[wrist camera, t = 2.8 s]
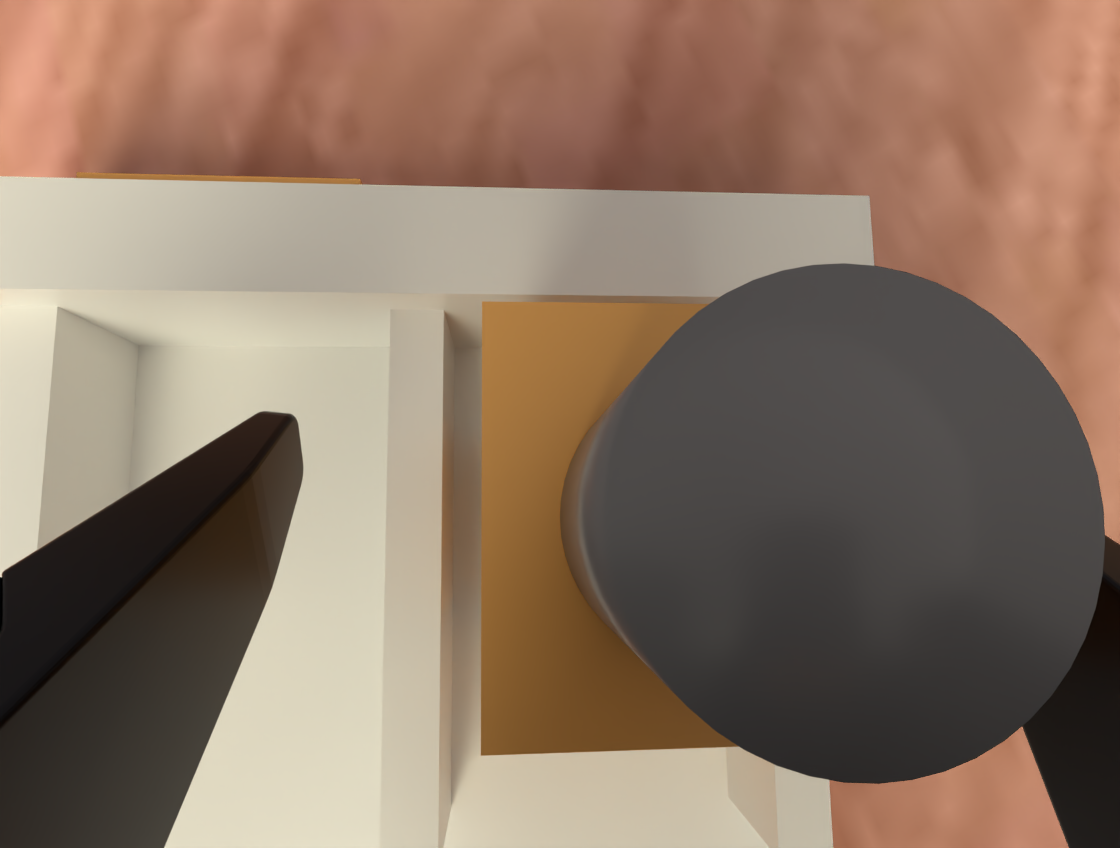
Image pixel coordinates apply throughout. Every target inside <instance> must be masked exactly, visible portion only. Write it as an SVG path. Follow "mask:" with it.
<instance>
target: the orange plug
mask: <svg viewBox="0 0 1120 848" xmlns="http://www.w3.org/2000/svg"><path fill="white" fill-rule="evenodd" d="M1104 548H1105V532H1104V511H1103V504H1102V498H1101V492H1100V486H1099V480H1098V475H1097V472H1096V468H1095V465H1094V462H1093V458H1092V455H1091V452H1090V448H1089V445H1088V442H1087V440H1086V438H1085V435H1084V433H1083V431H1082V428H1081V426H1080V424H1079V421H1078V419H1077V417H1076V414H1075V412H1074V411H1073V409H1072V407H1071V406H1070V404H1069V402H1068V400H1067V399H1066V397H1065V395H1064V393H1063V392H1062V390H1061V388H1060V387H1059V385H1058V383H1057V382H1056V381H1055V379H1054V378H1053V377H1052V375H1051V374H1050V373H1049V371H1048V370H1047V369H1046V367H1045V366H1044V365H1043V363H1042V362H1041V361H1040V359H1039V358H1038V357H1037V356H1036V355H1035V354H1034V353H1033V352H1032V351H1031V350H1030V349H1029V348H1028V347H1027V345H1026V344H1025V343H1024V342H1023V341H1022V340H1021V339H1020V338H1019V337H1018V336H1017V335H1016V334H1015V333H1014V332H1012V331H1011V330H1010V329H1009V328H1008V327H1006V326H1005V325H1004V324H1003V323H1002V322H1000V321H999V320H998V319H997V318H996V317H994V316H993V315H992V314H991V313H989V312H988V311H986V310H984V309H983V308H981V307H980V306H978V305H977V304H975V303H974V302H972V301H971V300H969V299H968V298H966V297H964V296H962V295H960V294H958V293H956V292H954V291H952V290H950V289H948V288H946V287H944V286H942V285H940V284H938V283H936V282H933V281H930V280H927V279H924V278H921V277H918V276H915V275H913V274H910V273H907V272H902V271H898V270H893V269H888V268H883V267H879V266H872V265H859V264H847V263H840V264H820V265H809V266H804V267H798V268H793V269H788V270H782V271H779V272H776V273H773V274H770V275H767V276H764V277H761V278H758V279H755V280H752V281H750V282H748V283H746V284H744V285H742V286H740V287H738V288H736V289H733V290H731V291H729V292H727V293H725V294H724V295H722V296H721V297H719V298H718V299H716V300H715V301H713V302H712V303H710V304H670V303H577V302H484V301H482V506H481V756H487V755H516V754H544V753H573V752H601V751H630V750H659V749H687V748H716V747H740V748H742V749H744V750H745V751H747V752H749V753H751V754H754V755H756V756H758V757H760V758H762V759H764V760H766V761H768V762H770V763H772V764H774V765H776V766H779V767H782V768H785V769H789V770H792V771H795V772H798V773H801V774H804V775H807V776H810V777H816V778H822V779H827V780H833V781H839V782H846V783H877V784H879V783H888V782H897V781H906V780H913V779H917V778H921V777H925V776H929V775H932V774H936V773H940V772H944V771H947V770H949V769H951V768H954V767H956V766H958V765H961V764H963V763H965V762H968V761H970V760H973V759H975V758H977V757H978V756H980V755H982V754H983V753H985V752H987V751H988V750H990V749H992V748H993V747H995V746H997V745H998V744H1000V743H1001V742H1003V741H1005V740H1006V739H1007V738H1008V737H1009V736H1011V735H1012V734H1013V733H1014V732H1015V731H1017V730H1018V729H1019V728H1020V727H1022V726H1023V725H1024V724H1025V723H1026V722H1028V721H1029V720H1030V719H1031V718H1032V717H1033V716H1034V714H1035V713H1036V712H1037V711H1038V710H1039V709H1040V708H1041V707H1042V706H1043V705H1044V703H1045V702H1046V701H1047V700H1048V699H1049V698H1050V697H1051V696H1052V694H1053V693H1054V691H1055V690H1056V689H1057V687H1058V686H1059V684H1060V683H1061V681H1062V680H1063V678H1064V677H1065V675H1066V674H1067V672H1068V671H1069V670H1070V668H1071V666H1072V664H1073V662H1074V660H1075V658H1076V656H1077V654H1078V652H1079V650H1080V648H1081V646H1082V644H1083V642H1084V640H1085V638H1086V635H1087V632H1088V629H1089V626H1090V623H1091V620H1092V617H1093V614H1094V611H1095V609H1096V604H1097V600H1098V595H1099V590H1100V585H1101V580H1102V575H1103V562H1104Z"/></svg>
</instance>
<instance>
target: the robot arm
mask: <svg viewBox="0 0 1120 848" xmlns="http://www.w3.org/2000/svg"><path fill="white" fill-rule="evenodd" d="M303 469H304V466H303V457H302V449H301V441H300V433H299V425H298V421H297V419H296V417H295V416H294V415H292V414H290V413H281V412H271V411H261V412H258V413H256V414H255V415H253V416H251V417H250V418H248V419H247V420H245V421H243V422H242V423H240V424H239V425H237V426H235V427H234V428H232V429H231V430H229V431H227V432H226V433H224V434H222V435H221V436H219V437H218V438H216V439H214V440H213V441H211V442H210V443H208V444H206V445H205V446H203V447H202V448H200V449H198V450H197V451H195V452H194V453H192V454H190V455H189V456H187V457H186V458H184V459H182V460H181V461H179V462H177V463H176V464H174V465H173V466H171V467H169V468H168V469H166V470H165V471H163V472H161V473H160V474H158V475H157V476H155V477H153V478H152V479H150V480H149V481H147V482H145V483H144V484H142V485H141V486H139V487H137V488H136V489H134V490H132V491H131V492H129V493H128V494H126V495H124V496H123V497H121V498H120V499H118V500H116V501H115V502H113V503H112V504H110V505H108V506H107V507H105V508H104V509H102V510H100V511H99V512H97V513H96V514H94V515H92V516H91V517H89V518H88V519H86V520H84V521H83V522H81V523H79V524H78V525H76V526H75V527H73V528H71V529H70V530H68V531H67V532H65V533H63V534H62V535H60V536H59V537H57V538H55V539H54V540H52V541H51V542H49V543H47V544H46V545H44V546H43V547H41V548H39V549H38V550H36V551H34V552H33V553H31V554H30V555H28V556H26V557H25V558H23V559H22V560H20V561H18V562H17V563H15V564H14V565H12V566H10V567H9V568H7V569H6V570H4V571H3V572H2V578H1V577H0V848H164V847H165V845H166V842H167V840H168V838H169V835H170V833H171V830H172V828H173V826H174V823H175V821H176V818H177V816H178V814H179V811H180V809H181V806H182V804H183V802H184V799H185V797H186V794H187V792H188V790H189V787H190V785H191V782H192V780H193V778H194V775H195V773H196V770H197V768H198V766H199V763H200V761H201V758H202V756H203V754H204V751H205V749H206V747H207V744H208V742H209V739H210V737H211V735H212V732H213V730H214V727H215V725H216V723H217V720H218V718H219V715H220V713H221V711H222V708H223V706H224V703H225V701H226V699H227V696H228V694H229V691H230V689H231V687H232V684H233V682H234V679H235V677H236V675H237V672H238V670H239V667H240V665H241V663H242V660H243V658H244V656H245V653H246V651H247V648H248V646H249V644H250V641H251V639H252V636H253V634H254V632H255V629H256V627H257V624H258V622H259V620H260V617H261V615H262V612H263V610H264V608H265V605H266V603H267V600H268V597H269V595H270V592H271V590H272V587H273V584H274V580H275V577H276V574H277V570H278V567H279V563H280V560H281V556H282V552H283V549H284V545H285V542H286V538H287V534H288V531H289V527H290V524H291V520H292V516H293V513H294V509H295V506H296V502H297V498H298V495H299V491H300V488H301V484H302V479H303ZM1022 727H1023V729H1024V732H1025V735H1026V737H1027V740H1028V743H1029V745H1030V748H1031V750H1032V753H1033V756H1034V758H1035V761H1036V763H1037V766H1038V769H1039V771H1040V774H1041V776H1042V779H1043V782H1044V784H1045V787H1046V789H1047V792H1048V795H1049V797H1050V800H1051V802H1052V805H1053V808H1054V810H1055V813H1056V815H1057V818H1058V821H1059V823H1060V826H1061V828H1062V831H1063V834H1064V836H1065V839H1066V841H1067V844H1068V847H1069V848H1120V545H1119V544H1118V543H1116V542H1115V541H1113V540H1112V539H1110V538H1109V537H1107V536H1105V548H1104V562H1103V575H1102V580H1101V585H1100V590H1099V595H1098V600H1097V604H1096V609H1095V611H1094V614H1093V617H1092V620H1091V623H1090V626H1089V629H1088V632H1087V635H1086V638H1085V640H1084V642H1083V644H1082V646H1081V648H1080V650H1079V652H1078V654H1077V656H1076V658H1075V660H1074V662H1073V664H1072V666H1071V668H1070V670H1069V671H1068V672H1067V674H1066V675H1065V677H1064V678H1063V680H1062V681H1061V683H1060V684H1059V686H1058V687H1057V689H1056V690H1055V691H1054V693H1053V694H1052V696H1051V697H1050V698H1049V699H1048V700H1047V701H1046V702H1045V703H1044V705H1043V706H1042V707H1041V708H1040V709H1039V710H1038V711H1037V712H1036V713H1035V714H1034V716H1033V717H1032V718H1031V719H1030V720H1029V721H1028V722H1026V723H1025V724H1024V725H1023V726H1022Z"/></svg>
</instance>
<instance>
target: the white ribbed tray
mask: <svg viewBox="0 0 1120 848" xmlns="http://www.w3.org/2000/svg"><path fill="white" fill-rule="evenodd" d="M840 263H847V264H859V265H872V266H874V254H873V240H872V226H871V212H870V198H869V196H856V195H811V194H766V193H721V192H676V191H631V190H586V189H542V188H497V187H452V186H407V185H363V184H362V182H361V180H360V179H343V178H299V177H255V176H211V175H167V174H124V173H80V172H77V175H76V178H48V177H3V176H0V577H1V578H2V572H3V571H4V570H6V569H7V568H9V567H10V566H12V565H14V564H15V563H17V562H18V561H20V560H22V559H23V558H25V557H26V556H28V555H30V554H31V553H33V552H34V551H36V550H38V549H39V548H41V547H43V546H44V545H46V544H47V543H49V542H51V541H52V540H54V539H55V538H57V537H59V536H60V535H62V534H63V533H65V532H67V531H68V530H70V529H71V528H73V527H75V526H76V525H78V524H79V523H81V522H83V521H84V520H86V519H88V518H89V517H91V516H92V515H94V514H96V513H97V512H99V511H100V510H102V509H104V508H105V507H107V506H108V505H110V504H112V503H113V502H115V501H116V500H118V499H120V498H121V497H123V496H124V495H126V494H128V493H129V492H131V491H132V490H134V489H136V488H137V487H139V486H141V485H142V484H144V483H145V482H147V481H149V480H150V479H152V478H153V477H155V476H157V475H158V474H160V473H161V472H163V471H165V470H166V469H168V468H169V467H171V466H173V465H174V464H176V463H177V462H179V461H181V460H182V459H184V458H186V457H187V456H189V455H190V454H192V453H194V452H195V451H197V450H198V449H200V448H202V447H203V446H205V445H206V444H208V443H210V442H211V441H213V440H214V439H216V438H218V437H219V436H221V435H222V434H224V433H226V432H227V431H229V430H231V429H232V428H234V427H235V426H237V425H239V424H240V423H242V422H243V421H245V420H247V419H248V418H250V417H251V416H253V415H255V414H256V413H258V412H261V411H271V412H281V413H290V414H292V415H294V416H295V417H296V419H297V421H298V425H299V433H300V441H301V449H302V457H303V466H304V469H303V479H302V484H301V488H300V491H299V495H298V498H297V502H296V506H295V509H294V513H293V516H292V520H291V524H290V527H289V531H288V534H287V538H286V542H285V545H284V549H283V552H282V556H281V560H280V563H279V567H278V570H277V574H276V577H275V580H274V584H273V587H272V590H271V592H270V595H269V597H268V600H267V603H266V605H265V608H264V610H263V612H262V615H261V617H260V620H259V622H258V624H257V627H256V629H255V632H254V634H253V636H252V639H251V641H250V644H249V646H248V648H247V651H246V653H245V656H244V658H243V660H242V663H241V665H240V667H239V670H238V672H237V675H236V677H235V679H234V682H233V684H232V687H231V689H230V691H229V694H228V696H227V699H226V701H225V703H224V706H223V708H222V711H221V713H220V715H219V718H218V720H217V723H216V725H215V727H214V730H213V732H212V735H211V737H210V739H209V742H208V744H207V747H206V749H205V751H204V754H203V756H202V758H201V761H200V763H199V766H198V768H197V770H196V773H195V775H194V778H193V780H192V782H191V785H190V787H189V790H188V792H187V794H186V797H185V799H184V802H183V804H182V806H181V809H180V811H179V814H178V816H177V818H176V821H175V823H174V826H173V828H172V830H171V833H170V835H169V838H168V840H167V842H166V845H165V847H164V848H833V837H832V819H831V802H830V785H829V780H827V779H822V778H816V777H810V776H807V775H804V774H801V773H798V772H795V771H792V770H789V769H785V768H782V767H779V766H776V765H774V764H772V763H770V762H768V761H766V760H764V759H762V758H760V757H758V756H756V755H754V754H751V753H749V752H747V751H745V750H744V749H742V748H740V747H716V748H687V749H659V750H630V751H601V752H573V753H544V754H516V755H487V756H481V506H482V301H484V302H577V303H670V304H710V303H712V302H713V301H715V300H716V299H718V298H719V297H721V296H722V295H724V294H725V293H727V292H729V291H731V290H733V289H736V288H738V287H740V286H742V285H744V284H746V283H748V282H750V281H752V280H755V279H758V278H761V277H764V276H767V275H770V274H773V273H776V272H779V271H782V270H788V269H793V268H798V267H804V266H809V265H820V264H840Z"/></svg>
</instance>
